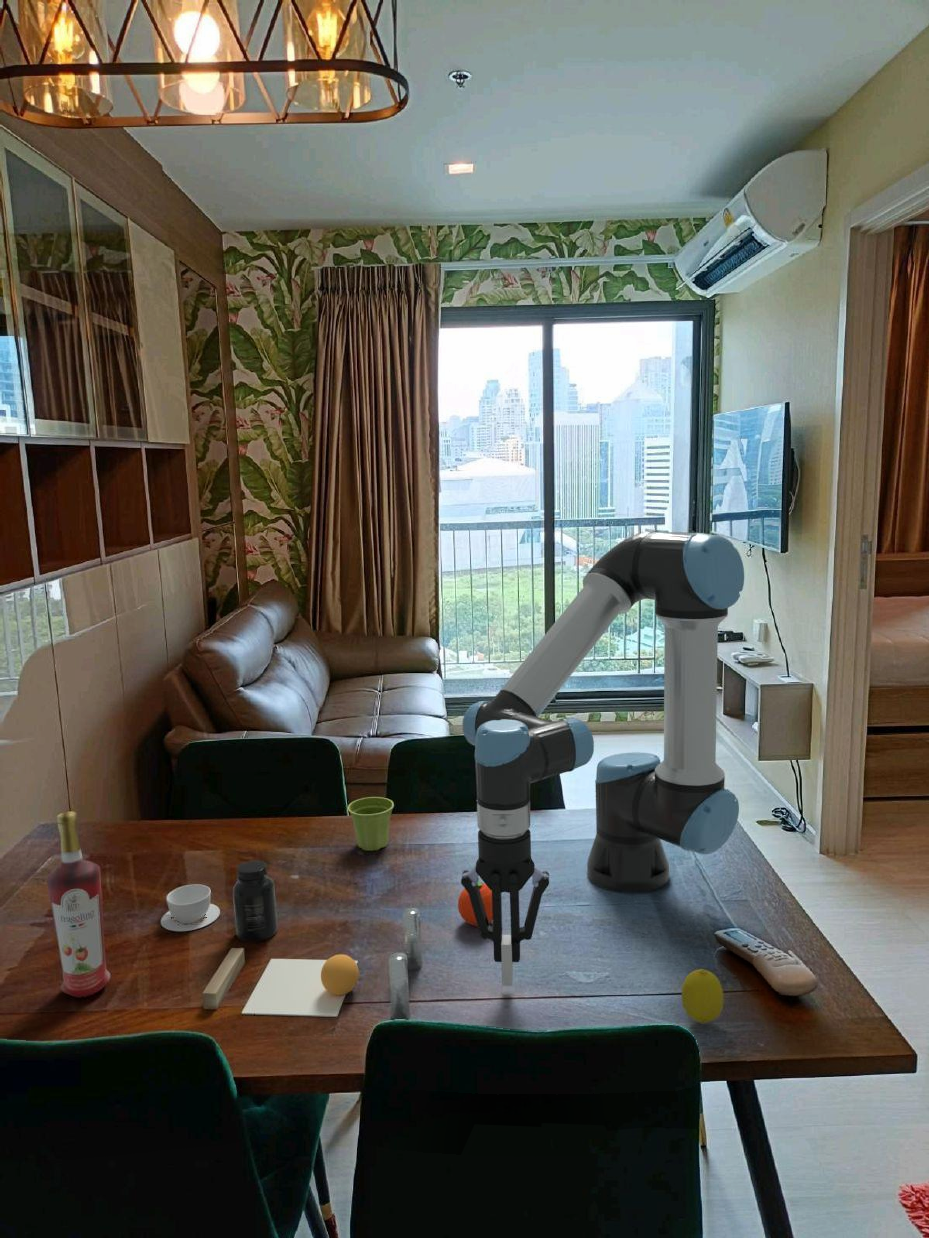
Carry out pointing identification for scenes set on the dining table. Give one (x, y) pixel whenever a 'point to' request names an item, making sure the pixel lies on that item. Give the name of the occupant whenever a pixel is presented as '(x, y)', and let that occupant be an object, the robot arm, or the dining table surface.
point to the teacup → (189, 908)
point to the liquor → (77, 914)
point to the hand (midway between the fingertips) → (507, 980)
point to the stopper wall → (223, 978)
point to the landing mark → (293, 990)
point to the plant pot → (371, 821)
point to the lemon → (702, 996)
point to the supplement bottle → (254, 903)
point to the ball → (339, 974)
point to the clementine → (467, 908)
